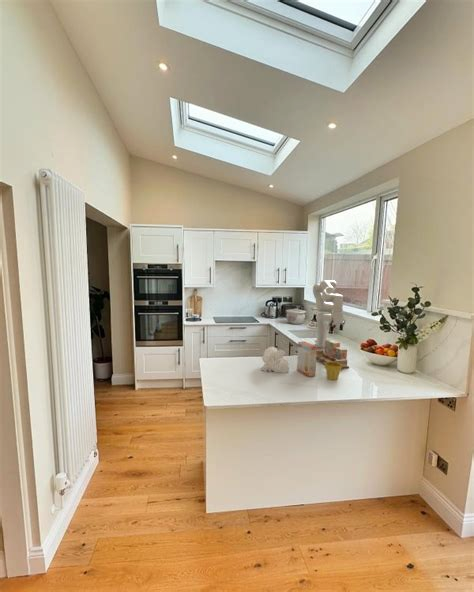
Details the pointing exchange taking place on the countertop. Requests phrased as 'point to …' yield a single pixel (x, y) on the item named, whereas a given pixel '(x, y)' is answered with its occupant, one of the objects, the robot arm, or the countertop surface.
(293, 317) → the chamber pot
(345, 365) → the cradle
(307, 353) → the cracker box
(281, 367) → the cauliflower
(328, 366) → the plant pot
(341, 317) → the robot arm
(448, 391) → the countertop surface
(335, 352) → the stack of blocks
